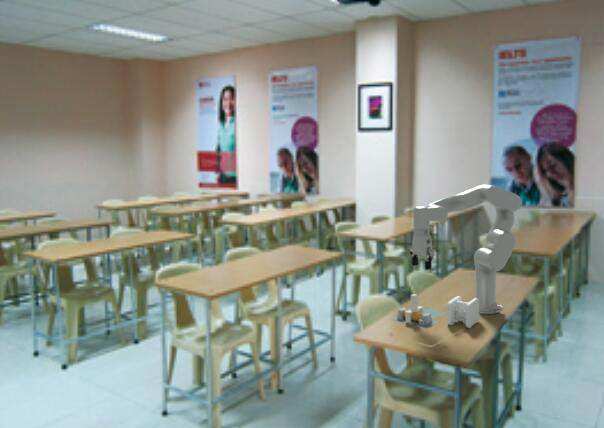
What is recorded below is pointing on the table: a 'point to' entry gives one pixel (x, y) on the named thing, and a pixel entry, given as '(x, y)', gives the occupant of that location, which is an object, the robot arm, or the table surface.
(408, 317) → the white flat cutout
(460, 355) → the table surface
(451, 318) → the cable organizer
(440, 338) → the table surface
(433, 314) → the mat
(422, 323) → the board
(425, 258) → the robot arm
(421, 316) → the grey orange bar
